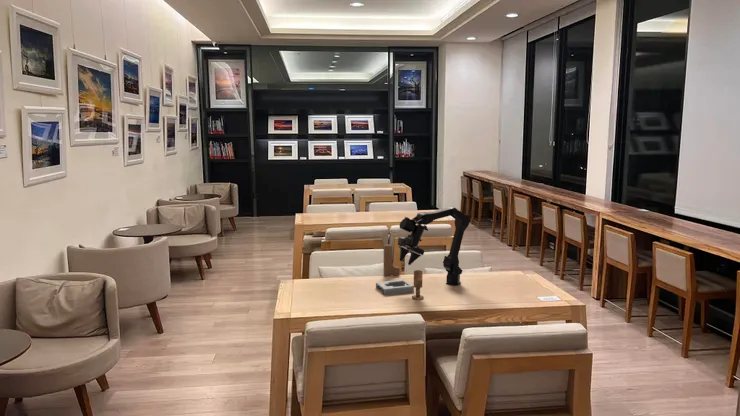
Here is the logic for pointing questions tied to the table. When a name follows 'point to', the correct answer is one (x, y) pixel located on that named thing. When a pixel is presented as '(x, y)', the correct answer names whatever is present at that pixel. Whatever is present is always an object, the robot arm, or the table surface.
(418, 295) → the headed peg
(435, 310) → the table surface
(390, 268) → the wooden block
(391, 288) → the keyhole plate
